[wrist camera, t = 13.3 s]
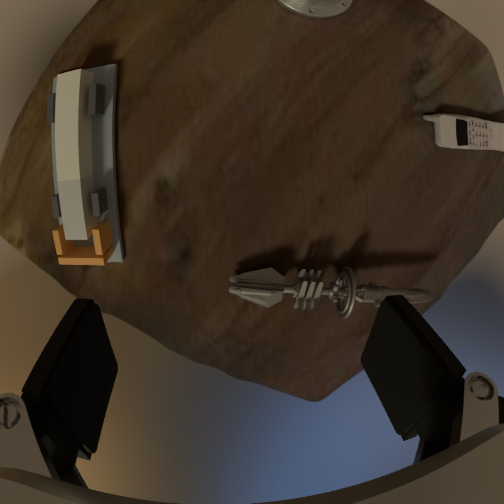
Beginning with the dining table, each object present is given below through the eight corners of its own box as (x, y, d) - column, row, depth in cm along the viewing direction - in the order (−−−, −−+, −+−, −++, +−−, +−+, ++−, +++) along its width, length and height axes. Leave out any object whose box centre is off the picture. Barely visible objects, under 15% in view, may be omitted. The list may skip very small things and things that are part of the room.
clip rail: (57, 78, 27) (38, 74, 22) (117, 64, 28) (104, 57, 23) (69, 258, 38) (55, 273, 34) (124, 258, 39) (114, 275, 35)
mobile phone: (522, 155, 32) (447, 152, 31) (501, 150, 38) (423, 147, 37) (521, 126, 30) (445, 111, 29) (500, 122, 35) (421, 110, 34)
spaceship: (427, 326, 42) (452, 300, 36) (226, 322, 41) (227, 290, 35) (416, 291, 47) (436, 263, 42) (230, 279, 46) (232, 245, 40)
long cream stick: (71, 78, 26) (57, 74, 23) (93, 73, 27) (81, 68, 23) (77, 229, 35) (65, 239, 32) (98, 228, 36) (87, 239, 32)
